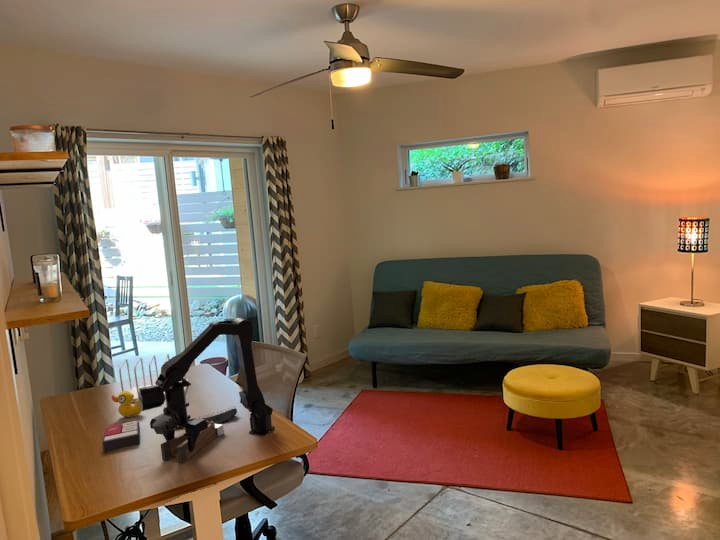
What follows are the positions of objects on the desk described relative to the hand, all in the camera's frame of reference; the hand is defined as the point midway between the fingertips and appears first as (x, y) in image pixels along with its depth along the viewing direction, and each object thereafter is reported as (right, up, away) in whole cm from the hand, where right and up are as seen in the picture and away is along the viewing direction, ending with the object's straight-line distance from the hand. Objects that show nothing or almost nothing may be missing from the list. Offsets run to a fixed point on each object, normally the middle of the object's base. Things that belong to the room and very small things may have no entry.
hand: (181, 449), depth 165 cm
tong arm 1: (0, -1, +5) cm, 5 cm away
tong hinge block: (+7, 0, +15) cm, 16 cm away
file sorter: (-32, +3, +62) cm, 70 cm away
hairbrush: (-1, 0, +26) cm, 26 cm away
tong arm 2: (+4, -1, +4) cm, 5 cm away
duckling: (-32, 0, +37) cm, 49 cm away
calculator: (-26, -3, +16) cm, 30 cm away
